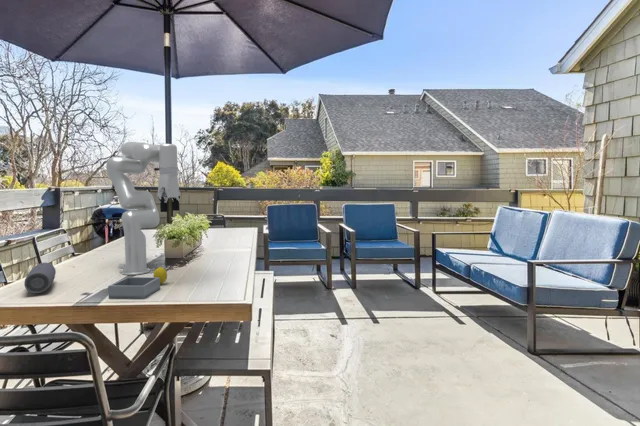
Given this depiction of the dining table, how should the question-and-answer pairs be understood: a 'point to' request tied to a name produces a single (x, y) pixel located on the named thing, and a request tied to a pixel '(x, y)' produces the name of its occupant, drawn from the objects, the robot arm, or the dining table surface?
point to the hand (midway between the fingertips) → (170, 211)
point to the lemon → (161, 274)
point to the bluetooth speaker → (40, 278)
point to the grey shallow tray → (134, 288)
